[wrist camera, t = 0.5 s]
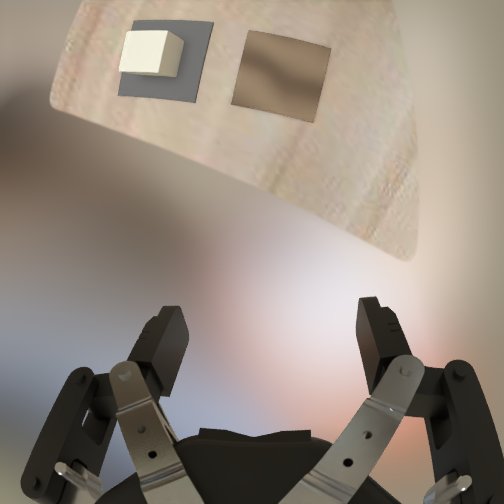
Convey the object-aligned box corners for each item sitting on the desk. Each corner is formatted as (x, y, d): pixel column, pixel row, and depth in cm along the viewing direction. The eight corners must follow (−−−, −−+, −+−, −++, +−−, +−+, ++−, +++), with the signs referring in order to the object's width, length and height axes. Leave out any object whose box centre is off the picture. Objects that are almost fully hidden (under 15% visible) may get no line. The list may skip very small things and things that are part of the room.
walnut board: (248, 30, 28) (248, 30, 28) (330, 49, 28) (331, 48, 28) (231, 104, 33) (231, 104, 32) (312, 122, 33) (313, 122, 33)
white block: (148, 39, 29) (127, 31, 23) (184, 41, 29) (167, 30, 23) (140, 75, 31) (118, 71, 26) (176, 77, 31) (158, 72, 26)
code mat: (134, 21, 27) (133, 20, 27) (213, 22, 28) (213, 22, 27) (118, 95, 33) (117, 95, 32) (195, 102, 33) (194, 102, 32)
